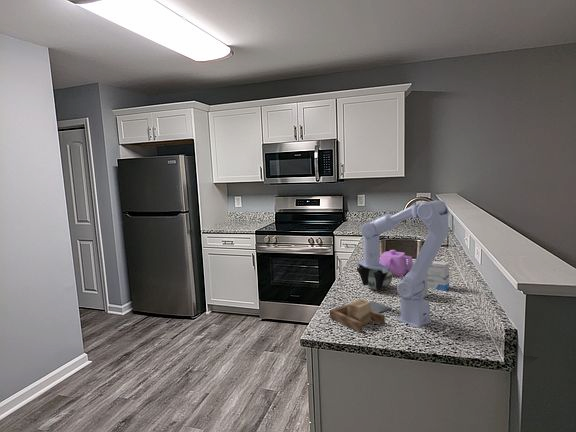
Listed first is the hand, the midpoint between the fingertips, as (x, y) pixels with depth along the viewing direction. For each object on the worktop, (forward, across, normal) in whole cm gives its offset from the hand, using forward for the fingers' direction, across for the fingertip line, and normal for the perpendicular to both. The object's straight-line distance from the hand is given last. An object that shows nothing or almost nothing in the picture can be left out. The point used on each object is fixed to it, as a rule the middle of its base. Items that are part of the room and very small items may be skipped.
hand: (372, 287), depth 140 cm
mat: (+9, 0, 0) cm, 9 cm away
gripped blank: (+9, -6, +13) cm, 17 cm away
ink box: (+9, -1, -40) cm, 41 cm away
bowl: (+9, +15, -19) cm, 26 cm away
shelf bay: (+9, -5, +13) cm, 16 cm away
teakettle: (+9, +29, -44) cm, 53 cm away
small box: (+9, -2, -25) cm, 27 cm away
